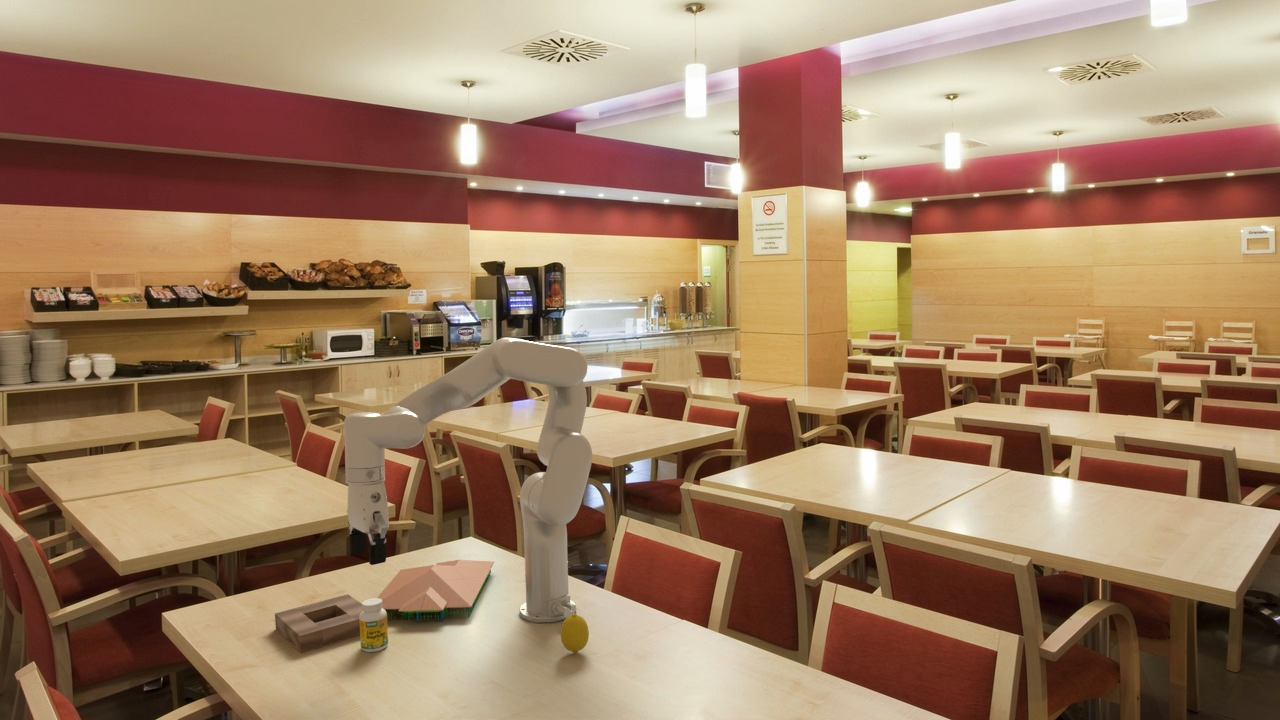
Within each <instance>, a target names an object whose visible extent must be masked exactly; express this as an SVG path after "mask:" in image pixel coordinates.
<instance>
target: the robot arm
mask: <svg viewBox="0 0 1280 720" xmlns="http://www.w3.org/2000/svg"><path fill="white" fill-rule="evenodd" d="M587 373H588V363H587V360H586V357H585V356H584V354H583V353H582V352H580V351H579V350H577V349H575V348H572V347H566V346H560V345H554V344H546V343H541V342H540V343H539V342H534V341H529V340H525V339H522V338H514V337H501V338H499V339H497V340H495V341H494V342H491V343H490V344H489V345H487V346H485V347H484V348H483V349H481V350H479V351H478V352H477V353H475V354H473V355H472V356H471V357H469V358H468V359H467V360H465V361H464V362H462V363H461V364H459V365H457V366H456V367H455V368H453V369H452V370H450V371H449V372H447V373H445V374H443V375H441V376H439V377H438V378H435V379H434V380H432V381H431V382H429V383H427V384H425V385H424V386H421V387H420V388H418V389H416V390H415V391H413V392H412V393H410V394H409V395H407V396H406V397H404V398H403V399H401V400H399V401H398V402H396V403H395V404H393V405H392V406H391V407H390V408H389V409H387V410H386V411H385V413H384V414H380V413H378V412H373V411H371V412H370V411H367V412H364V411H363V412H354V413H350V414H348V415H346V417H345V418H344V421H343V422H344V423H343V427H344V428H343V430H344V431H343V432H344V433H343V434H344V462H345V463H344V464H345V465H344V466H345V484H347V487H348V488H347V510H346V511H347V523H348V526H349V527H348V533H349V553H350V554H357V553H362V552H366V550H367V536H368V539H369V543H370V544H368V561H369V562H368V563H369V565H370V566H375V565H378V564H383V563H384V564H385V563H386V562H387V550H386V548H387V546H386V543H387V536H388V534H387V532H388V530H389V527H390V521H389V519H390V517H389V507H388V496H387V489H386V485H385V481H386V464H385V463H386V462H385V460H386V459H385V457H386V456H385V448H387V449H405V450H406V449H410V448H414V447H416V446H417V445H419V444H420V443H422V441H423V439H424V437H425V435H426V425H428V424H429V423H430V422H432V421H433V420H436V419H438V418H439V417H441V416H443V415H445V414H447V413H450V412H453V411H456V410H458V411H459V410H463V409H465V408H468V407H470V406H473V405H475V404H476V403H478V402H479V401H480V400H482V399H483V398H485V397H486V396H488V395H489V394H490V393H492V392H493V391H495V390H496V389H498V388H500V386H502V385H503V384H505V383H507V382H508V381H509V380H517V381H519V382H520V381H521V382H526V383H532V384H539V385H545V386H546V388H547V392H548V405H547V408H546V413H545V418H544V421H543V425H542V427H541V430H540V431H541V432H540V435H539V438H538V441H537V446H536V454H537V457H538V459H539V461H540V462H541V463H542V464H543V465H544V466H546V470H545V471H540V472H534V473H533V474H531V475H530V476H528V477H527V478H526V479H525V480H524V482H523V483H522V485H521V487H520V488H521V489H520V492H519V501H520V502H519V503H520V504H519V505H520V510H521V511H520V512H521V516H522V525H523V542H524V544H523V545H524V547H523V548H524V571H525V573H524V576H525V602H524V603H523V604H521V606H520V607H519V616H520V618H522V619H524V620H526V621H528V622H532V623H540V622H547V623H553V622H559V621H563V620H565V619H566V618H567V617H569V616H571V615H572V614H576V611H577V605H576V602H574V601H573V600H571V594H569V569H568V567H569V565H568V562H569V561H568V531H567V524H569V523H570V522H571V521H572V520H574V518H575V517H576V516H577V514H578V512H579V509H580V507H581V505H582V502H583V497H584V494H585V491H586V486H587V482H588V479H589V476H590V472H591V468H592V462H593V451H592V450H593V449H592V445H591V443H590V441H589V439H588V438H586V437H585V436H584V435H583V434H582V428H583V425H584V419H585V415H586V410H587V404H588V395H587V390H586V386H585V383H584V382H585V381H584V379H585V377H587ZM374 534H375V536H374Z"/></svg>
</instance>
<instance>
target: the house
mask: <svg viewBox="0 0 1280 720" xmlns="http://www.w3.org/2000/svg"><path fill="white" fill-rule="evenodd" d="M494 563H495V561H491V560H490V561H489V560H488V561H487V560H469V559H468V560H467V559H466V560H465V559H456V560H449V561H443V562H442V561H441V562H437V563H436V564H431V565H425V566H424V565H423V566H417V567H412V568H411V567H410V568H404V569H400V570H399V571H398V572H397V574H396V575H394V577H393V578H392V579H391V580H390V582H389V583H388V584H387V585H386V587H385V588H384V589H383V590H382V591H381V592H380V593H379V595H377V597H376V598H379V599H382V603H383V606H382V608H383V609H384V610H385V611H386V610H387V611H386V612H389V610H390V612H391V613H390V615H391V616H390V617H391V620H393V617H392V616H393V613H392V610H398V613H401V615H402V617H401V618H402V619H401V620H404V618H403V617H404V614H406V619H408V620H411V618H412V617H413V615H415V616H416V617H415V618H416V623H418V622H419V620H421V618H423V617H424V619H426V618H425V617H426V615H425V613H434V614H435V615H434V618H435V619H437V621H438V622H439V621H440V622H443V620H444V619H445V616H446V614H448V613H449V611H448V609H449V608H450V609H449V610H450V614H452V613H453V615H454V619H455V618H456V617H455V616H456V614H459V613H460V612H461V614H463V613H464V616H465V619H466V618H467V619H469V618H470V616H471V614H472V612H473V609H474V608H475V606H476V604H477V603H478V600H479V598H480V597H481V594H482V591H483V590H484V588H485V586H486V584H487V582H488V580H489V578H490V576H491V575H490V573H491V574H492V567H493V565H494ZM459 608H460V610H461V611H457V612H455V609H459ZM462 608H463V609H466V608H467V611H463V609H462ZM452 609H453V610H454V611H452ZM420 613H423V614H424V615H423V616H422V615H420ZM436 613H440V616H437V615H436ZM466 613H467V615H466ZM412 614H413V615H412ZM387 616H389V613H387ZM410 617H411V618H410ZM429 617H430V618H431V615H427V620H428V623H429V622H430V621H429ZM439 617H440V620H439ZM446 619H448V616H447V617H446ZM394 620H396V617H394Z"/></svg>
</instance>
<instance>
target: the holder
mask: <svg viewBox="0 0 1280 720" xmlns="http://www.w3.org/2000/svg"><path fill="white" fill-rule="evenodd" d="M361 612H363V610H362V602H360V601H358V600H357V599H356V598H354V596H353V597H352V596H351V595H350V594H349V593H348V594H344V595H340V596H336V597H332V598H329V599H328V598H327V599H324V600H321V601H318V602H312V603H310V604H306V605H305V604H304V605H302V606H299V607H295V608H290V609H286V610H283V611H279V612H276V613H275V612H274V621H275V622H274V623H275V630H276V629H277V630H278V631H279V632H280V633H281V634H280V633H279V632H278V631H277V630H276V631H277V632H278V633H279V634H280V635H281V636H283V638H285V640H287V641H288V642H289V643H290V642H291V643H292V644H291V643H290V644H291V645H292V646H293V645H294V646H295V647H296V648H297V649H296V648H295V647H294V646H293V647H294V648H295V649H296V650H298V652H300V653H305V652H308V651H311V650H314V648H315V649H318V648H321V647H325V646H329V645H331V644H334V643H338V642H340V641H343V640H344V641H345V640H348V639H350V638H351V639H352V638H354V637H358V636H360V624H359V616H360V614H361ZM324 645H325V646H324ZM317 647H318V648H317ZM304 651H305V652H304Z"/></svg>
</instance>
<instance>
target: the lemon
mask: <svg viewBox="0 0 1280 720" xmlns="http://www.w3.org/2000/svg"><path fill="white" fill-rule="evenodd" d="M589 633H590V631H589V627H588V623H587V621H586V620H585V619H584V617H582V616H581V615H579V614H578V615H577V614H576V613H574V614H572V615H571V616H569V617H567V618H566V619H564V621H563V622H562V625H561V628H560V640H561V643H562V645H563V648H564V649H566V650H568V651H570V652H572V654H577V653H578V652H579V651H582V650H583V649H584V648H585V647H586V646H587V644H588V641H589V635H590V634H589Z"/></svg>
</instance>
